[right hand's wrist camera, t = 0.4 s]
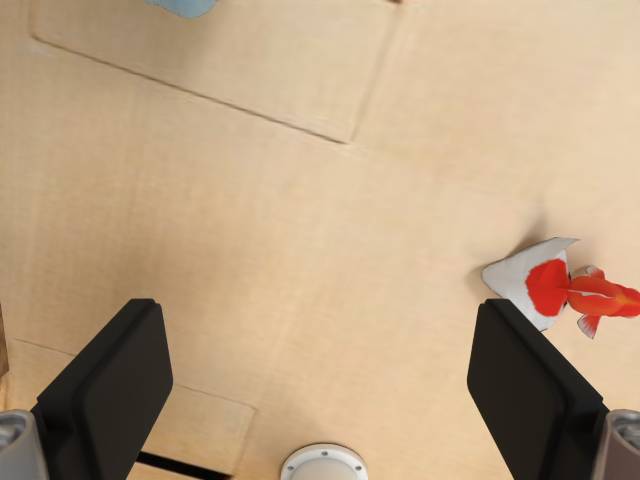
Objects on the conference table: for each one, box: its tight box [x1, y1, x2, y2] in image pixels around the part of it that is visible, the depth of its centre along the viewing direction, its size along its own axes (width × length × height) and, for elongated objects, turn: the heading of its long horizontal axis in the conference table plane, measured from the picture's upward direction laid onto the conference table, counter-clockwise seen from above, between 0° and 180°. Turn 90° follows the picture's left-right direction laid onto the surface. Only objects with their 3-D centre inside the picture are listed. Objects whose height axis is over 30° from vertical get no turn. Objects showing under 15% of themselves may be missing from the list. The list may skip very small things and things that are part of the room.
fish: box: [481, 237, 640, 339], centre depth 41 cm, size 11×16×10 cm
